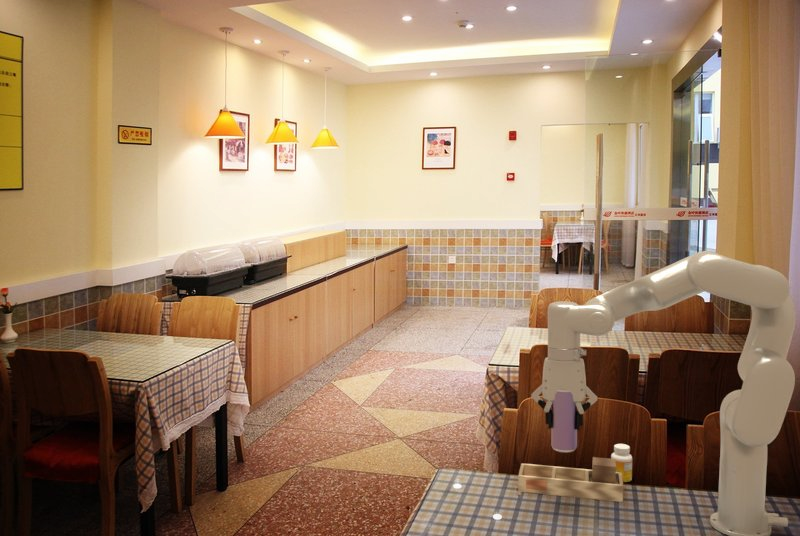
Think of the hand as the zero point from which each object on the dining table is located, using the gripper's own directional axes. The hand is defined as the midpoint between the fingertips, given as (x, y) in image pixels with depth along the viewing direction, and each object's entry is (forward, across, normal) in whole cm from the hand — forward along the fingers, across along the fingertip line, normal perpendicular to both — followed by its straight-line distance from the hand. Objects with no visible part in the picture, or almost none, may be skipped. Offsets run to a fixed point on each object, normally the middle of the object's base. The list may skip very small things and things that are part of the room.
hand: (564, 427), depth 169 cm
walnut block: (+20, -9, -10) cm, 24 cm away
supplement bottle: (+21, -14, -21) cm, 33 cm away
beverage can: (+5, 0, 0) cm, 5 cm away
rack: (+20, -1, -10) cm, 23 cm away
